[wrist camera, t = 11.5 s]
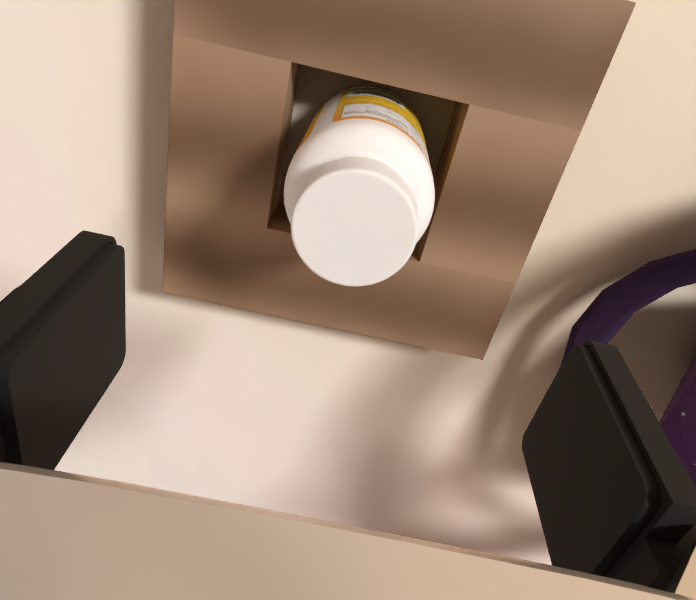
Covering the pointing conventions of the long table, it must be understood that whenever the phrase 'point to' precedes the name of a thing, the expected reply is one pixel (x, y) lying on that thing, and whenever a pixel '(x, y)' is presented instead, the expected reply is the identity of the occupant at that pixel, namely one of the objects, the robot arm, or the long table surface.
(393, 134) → the supplement bottle
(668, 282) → the purple looped device
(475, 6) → the socket block
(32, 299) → the robot arm
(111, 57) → the long table surface
